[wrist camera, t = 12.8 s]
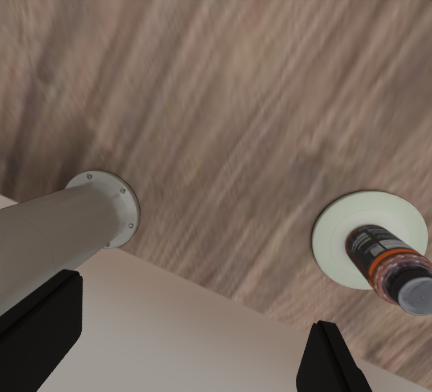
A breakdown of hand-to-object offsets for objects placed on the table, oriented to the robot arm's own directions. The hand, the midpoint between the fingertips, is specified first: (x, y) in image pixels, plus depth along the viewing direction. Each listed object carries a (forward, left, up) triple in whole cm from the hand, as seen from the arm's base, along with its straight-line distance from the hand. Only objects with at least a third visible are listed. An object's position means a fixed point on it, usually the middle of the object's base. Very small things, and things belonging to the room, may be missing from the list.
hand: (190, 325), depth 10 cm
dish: (+10, -17, -27) cm, 33 cm away
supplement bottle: (+9, -17, -25) cm, 32 cm away
